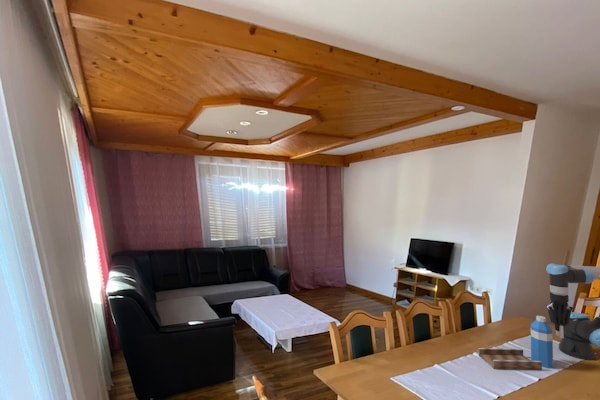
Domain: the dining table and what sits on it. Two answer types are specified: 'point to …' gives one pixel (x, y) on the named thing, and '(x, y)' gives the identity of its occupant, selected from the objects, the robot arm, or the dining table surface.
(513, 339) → the dining table surface
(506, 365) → the cradle
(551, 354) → the water bottle
